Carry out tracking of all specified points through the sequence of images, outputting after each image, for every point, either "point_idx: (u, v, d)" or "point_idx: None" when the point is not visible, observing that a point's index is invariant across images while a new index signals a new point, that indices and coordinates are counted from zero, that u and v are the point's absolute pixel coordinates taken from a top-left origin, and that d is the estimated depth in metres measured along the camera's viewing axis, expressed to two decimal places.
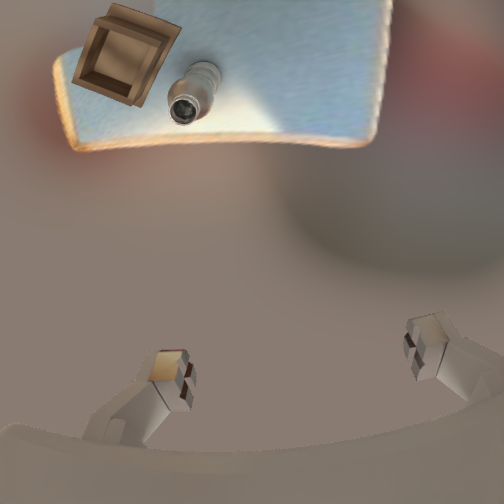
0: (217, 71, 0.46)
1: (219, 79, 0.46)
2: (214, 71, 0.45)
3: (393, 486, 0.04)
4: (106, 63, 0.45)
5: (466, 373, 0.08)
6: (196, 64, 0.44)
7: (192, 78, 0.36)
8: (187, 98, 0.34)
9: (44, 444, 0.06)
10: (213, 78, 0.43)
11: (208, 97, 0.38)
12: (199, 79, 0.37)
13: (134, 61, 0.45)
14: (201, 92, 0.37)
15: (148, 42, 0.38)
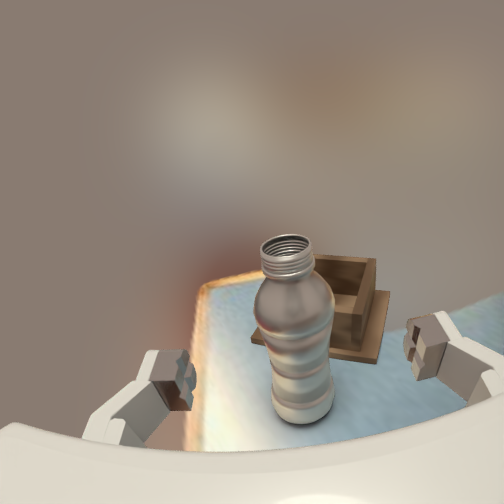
0: (323, 405, 0.28)
1: (310, 409, 0.27)
2: (324, 395, 0.27)
3: (393, 486, 0.04)
4: None
5: (466, 373, 0.08)
6: None
7: (333, 296, 0.24)
8: (311, 247, 0.22)
9: (44, 444, 0.06)
10: (318, 383, 0.26)
11: (305, 313, 0.22)
12: (333, 306, 0.24)
13: None
14: (315, 297, 0.22)
15: (357, 303, 0.35)
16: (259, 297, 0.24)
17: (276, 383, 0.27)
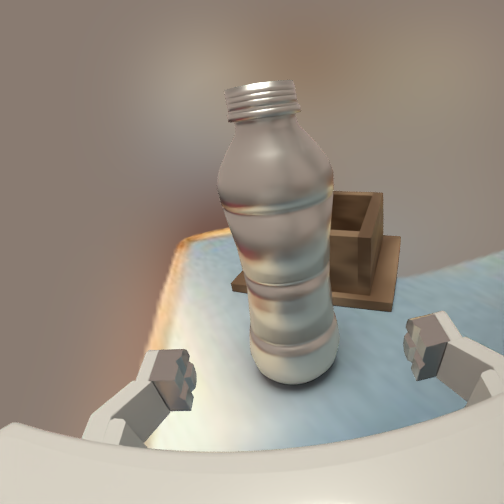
0: (324, 353, 0.20)
1: (305, 355, 0.19)
2: (325, 336, 0.20)
3: (393, 486, 0.04)
4: None
5: (466, 373, 0.08)
6: None
7: (330, 165, 0.17)
8: (293, 84, 0.15)
9: (44, 444, 0.06)
10: (315, 310, 0.19)
11: (289, 168, 0.15)
12: (331, 175, 0.16)
13: None
14: (303, 150, 0.15)
15: (363, 228, 0.27)
16: (223, 159, 0.16)
17: (254, 312, 0.20)
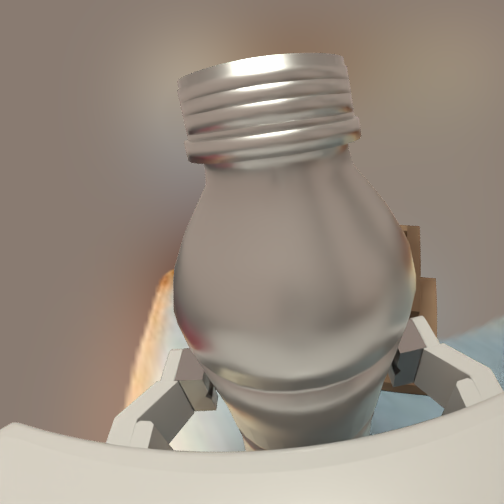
0: None
1: None
2: None
3: (393, 486, 0.04)
4: None
5: (443, 381, 0.08)
6: None
7: None
8: None
9: (44, 444, 0.06)
10: None
11: (340, 297, 0.06)
12: None
13: None
14: (371, 239, 0.06)
15: None
16: (181, 247, 0.07)
17: None
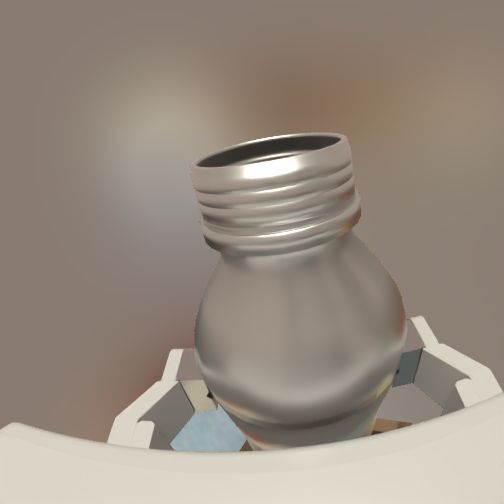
0: None
1: None
2: None
3: (393, 486, 0.04)
4: None
5: (442, 381, 0.08)
6: None
7: None
8: (348, 148, 0.07)
9: (44, 444, 0.06)
10: None
11: (349, 357, 0.07)
12: (405, 324, 0.08)
13: None
14: (372, 304, 0.07)
15: None
16: (202, 316, 0.08)
17: None
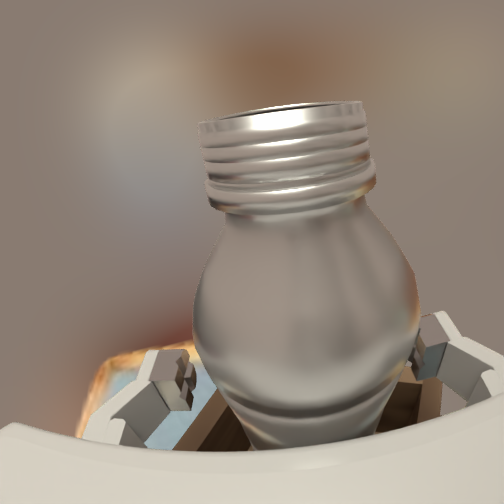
0: None
1: None
2: None
3: (393, 486, 0.04)
4: None
5: (466, 373, 0.08)
6: None
7: None
8: None
9: (44, 444, 0.06)
10: None
11: (364, 333, 0.06)
12: None
13: None
14: (387, 277, 0.06)
15: None
16: (203, 289, 0.07)
17: None
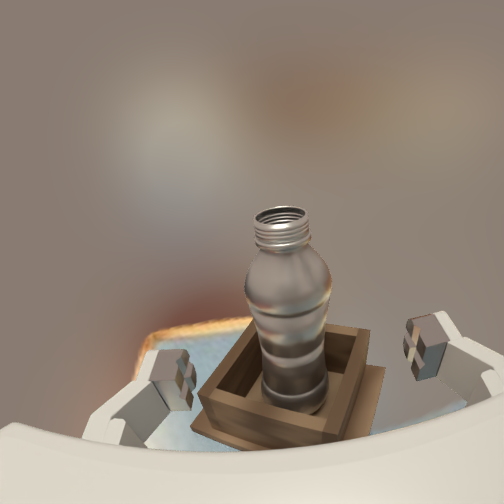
0: (319, 396, 0.26)
1: (306, 400, 0.25)
2: (320, 385, 0.26)
3: (393, 486, 0.04)
4: None
5: (466, 373, 0.08)
6: None
7: (329, 272, 0.23)
8: (307, 217, 0.21)
9: (44, 444, 0.06)
10: (314, 370, 0.25)
11: (304, 287, 0.21)
12: (330, 282, 0.22)
13: None
14: (313, 270, 0.21)
15: (333, 413, 0.22)
16: (251, 273, 0.22)
17: (269, 372, 0.25)
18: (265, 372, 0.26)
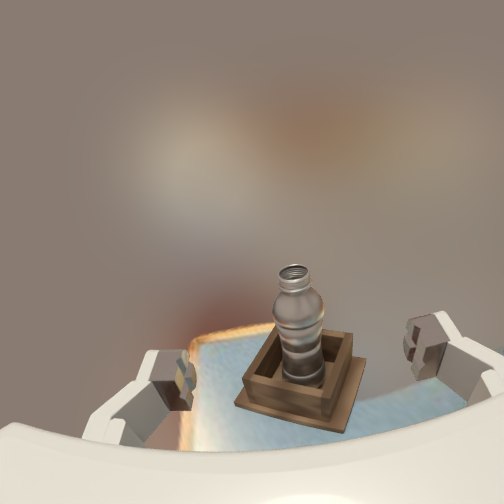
0: (319, 377, 0.42)
1: (311, 379, 0.41)
2: (320, 369, 0.41)
3: (393, 486, 0.04)
4: None
5: (466, 373, 0.08)
6: None
7: None
8: (309, 273, 0.36)
9: (44, 444, 0.06)
10: (315, 360, 0.40)
11: (307, 313, 0.36)
12: (323, 308, 0.38)
13: None
14: (312, 303, 0.36)
15: (327, 386, 0.37)
16: (277, 305, 0.37)
17: (287, 362, 0.41)
18: (284, 362, 0.42)
